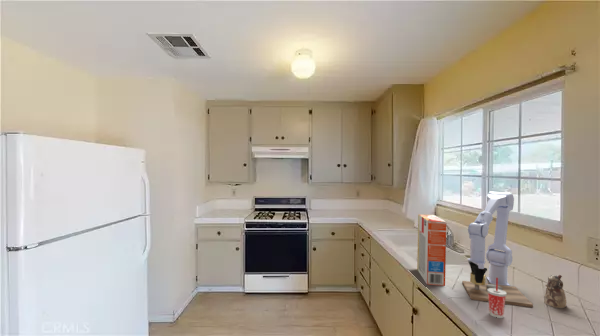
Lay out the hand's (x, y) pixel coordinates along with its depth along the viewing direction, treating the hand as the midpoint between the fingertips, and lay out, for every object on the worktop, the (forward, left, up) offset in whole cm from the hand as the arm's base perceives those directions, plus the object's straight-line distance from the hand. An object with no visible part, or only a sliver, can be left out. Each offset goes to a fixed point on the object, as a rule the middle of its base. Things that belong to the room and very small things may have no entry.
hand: (477, 280), depth 140 cm
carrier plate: (0, +7, -5) cm, 9 cm away
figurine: (+3, +28, -5) cm, 28 cm away
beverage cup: (+23, +2, -5) cm, 24 cm away
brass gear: (0, 0, -1) cm, 1 cm away
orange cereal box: (-14, -18, -5) cm, 24 cm away
